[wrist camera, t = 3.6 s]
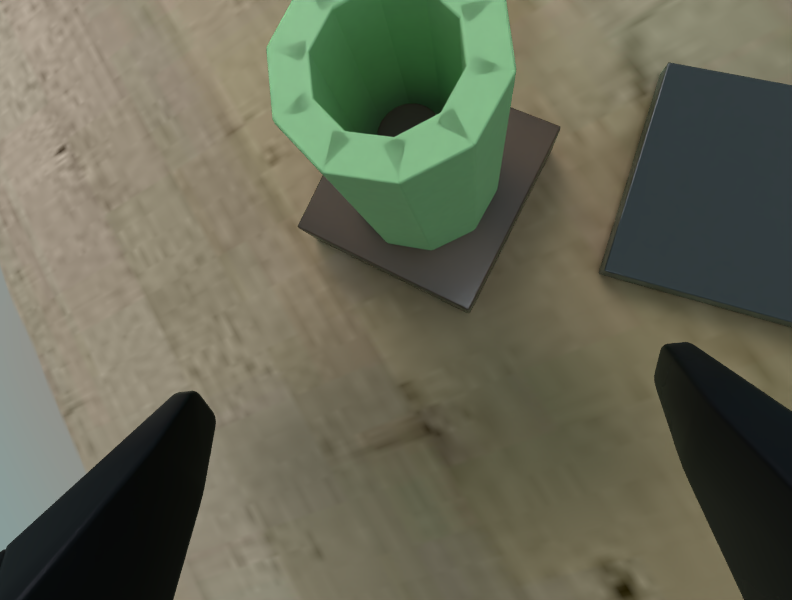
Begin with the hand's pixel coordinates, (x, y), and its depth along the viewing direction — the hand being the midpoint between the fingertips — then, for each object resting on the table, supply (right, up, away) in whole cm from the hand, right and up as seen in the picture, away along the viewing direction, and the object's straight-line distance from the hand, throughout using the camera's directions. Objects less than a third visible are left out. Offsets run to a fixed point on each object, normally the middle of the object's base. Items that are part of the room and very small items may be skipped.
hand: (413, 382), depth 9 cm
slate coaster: (+15, +6, +12) cm, 20 cm away
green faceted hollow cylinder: (+1, +7, +12) cm, 14 cm away
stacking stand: (+1, +7, +14) cm, 16 cm away
